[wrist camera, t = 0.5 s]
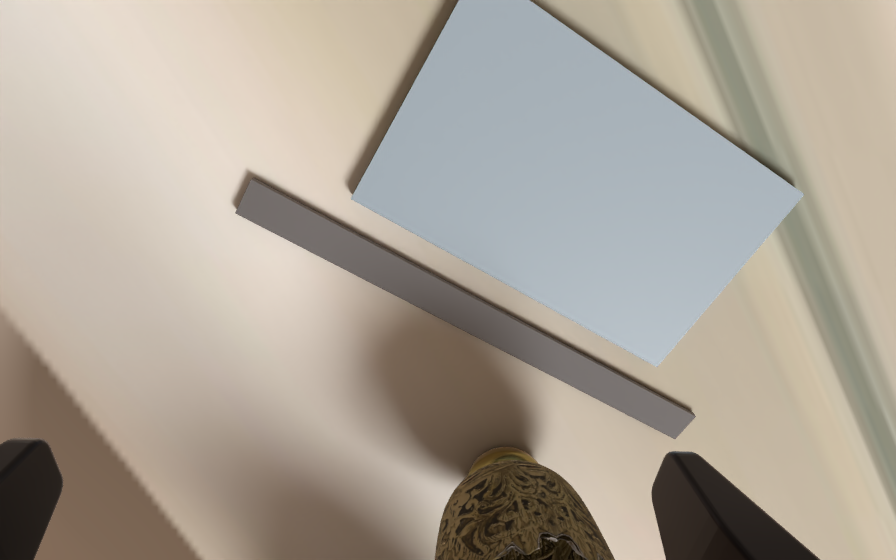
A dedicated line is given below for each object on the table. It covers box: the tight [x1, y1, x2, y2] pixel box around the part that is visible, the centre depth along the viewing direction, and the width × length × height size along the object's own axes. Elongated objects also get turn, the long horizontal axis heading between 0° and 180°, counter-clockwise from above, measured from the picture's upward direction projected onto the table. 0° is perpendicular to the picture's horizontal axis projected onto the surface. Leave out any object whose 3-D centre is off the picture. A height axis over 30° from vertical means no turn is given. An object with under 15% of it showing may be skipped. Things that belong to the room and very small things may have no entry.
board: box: [351, 0, 804, 367], centre depth 21 cm, size 9×15×1 cm, turn 59°
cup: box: [435, 447, 615, 560], centre depth 23 cm, size 8×7×8 cm
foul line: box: [235, 178, 696, 439], centre depth 23 cm, size 2×22×1 cm, turn 59°
